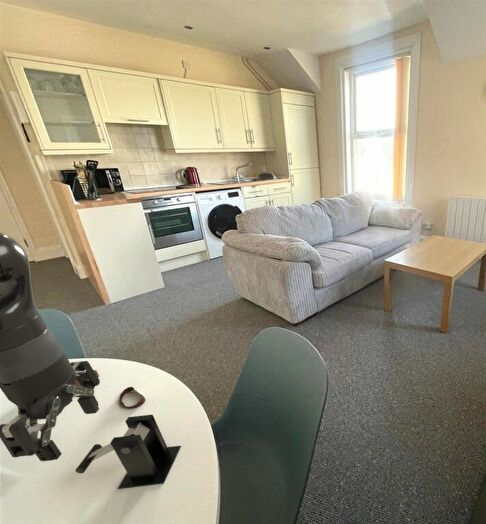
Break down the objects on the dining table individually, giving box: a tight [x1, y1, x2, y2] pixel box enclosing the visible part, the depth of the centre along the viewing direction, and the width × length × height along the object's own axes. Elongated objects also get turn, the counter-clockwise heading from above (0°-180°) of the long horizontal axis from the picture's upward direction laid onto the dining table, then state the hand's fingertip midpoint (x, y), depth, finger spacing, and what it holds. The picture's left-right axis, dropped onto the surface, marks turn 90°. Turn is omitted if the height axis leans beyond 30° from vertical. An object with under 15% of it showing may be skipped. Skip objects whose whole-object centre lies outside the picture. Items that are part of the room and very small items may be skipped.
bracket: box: [109, 414, 182, 490], centre depth 53 cm, size 8×7×12 cm
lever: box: [75, 423, 150, 474], centre depth 52 cm, size 13×4×2 cm, turn 94°
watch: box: [118, 386, 146, 410], centre depth 70 cm, size 8×5×4 cm, turn 58°
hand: (74, 433), depth 50 cm, fingers open, 8 cm apart
